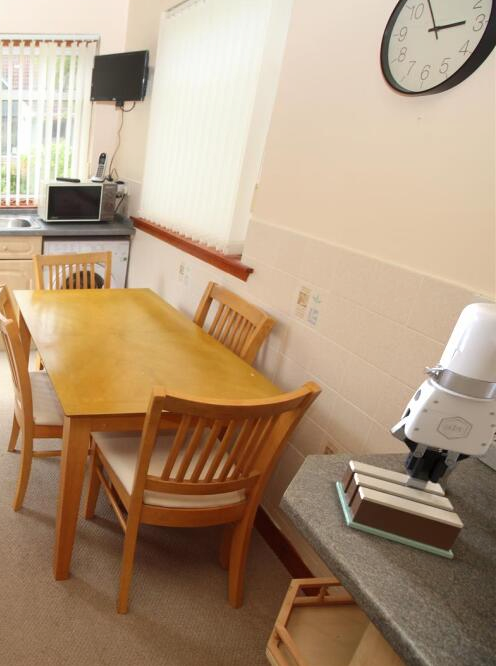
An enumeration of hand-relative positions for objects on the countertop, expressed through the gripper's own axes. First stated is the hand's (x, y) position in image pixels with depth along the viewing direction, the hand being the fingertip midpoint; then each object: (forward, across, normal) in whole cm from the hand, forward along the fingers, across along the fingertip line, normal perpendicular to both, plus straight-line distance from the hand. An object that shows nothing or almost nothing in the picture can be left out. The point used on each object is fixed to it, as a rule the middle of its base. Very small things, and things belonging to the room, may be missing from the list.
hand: (420, 475), depth 81 cm
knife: (+8, 0, 0) cm, 8 cm away
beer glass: (+9, +7, +14) cm, 18 cm away
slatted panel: (+9, -2, -2) cm, 10 cm away
